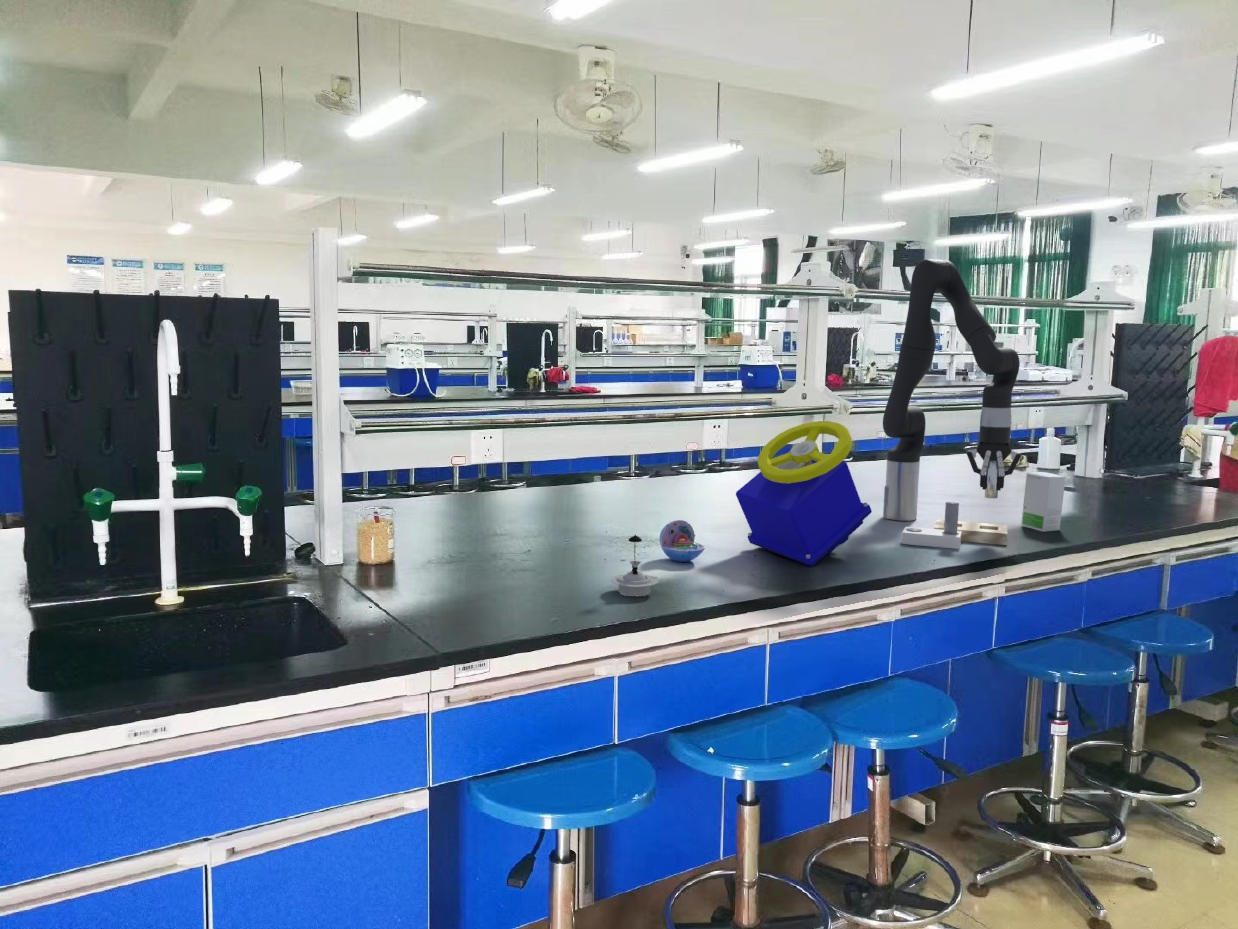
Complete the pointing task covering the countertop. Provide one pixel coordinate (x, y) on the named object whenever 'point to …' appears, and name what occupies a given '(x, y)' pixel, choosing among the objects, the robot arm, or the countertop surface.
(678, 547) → the cell model
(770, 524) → the control box
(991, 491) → the steel pin
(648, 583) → the white domed rod stand
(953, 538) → the block
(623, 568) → the countertop surface
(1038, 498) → the skincare box
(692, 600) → the countertop surface
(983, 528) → the pin board
